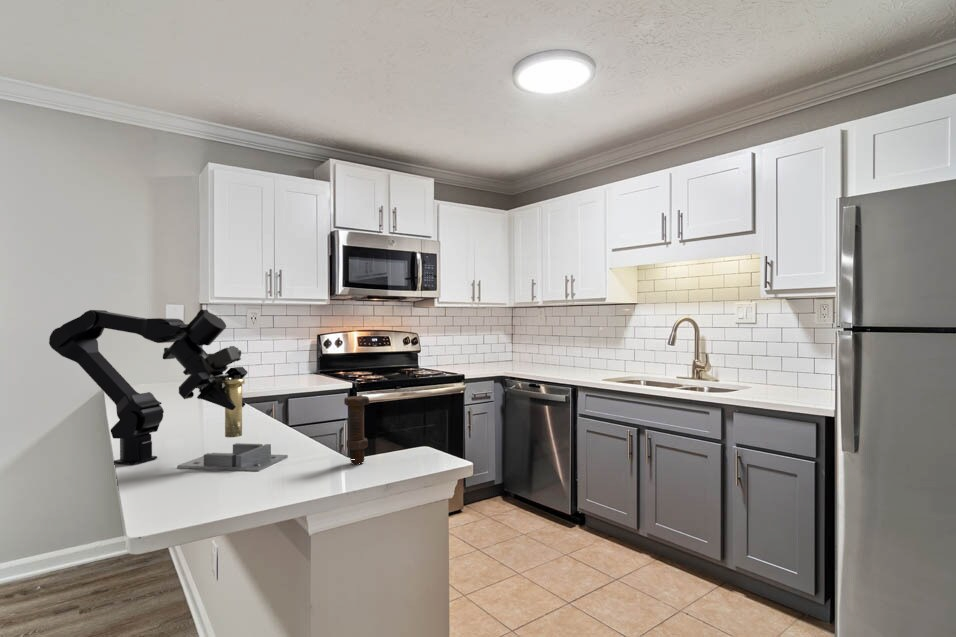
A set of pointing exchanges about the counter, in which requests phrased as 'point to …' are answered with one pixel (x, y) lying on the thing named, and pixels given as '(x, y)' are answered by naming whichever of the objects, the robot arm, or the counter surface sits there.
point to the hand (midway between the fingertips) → (239, 407)
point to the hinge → (237, 458)
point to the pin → (235, 416)
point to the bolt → (356, 427)
